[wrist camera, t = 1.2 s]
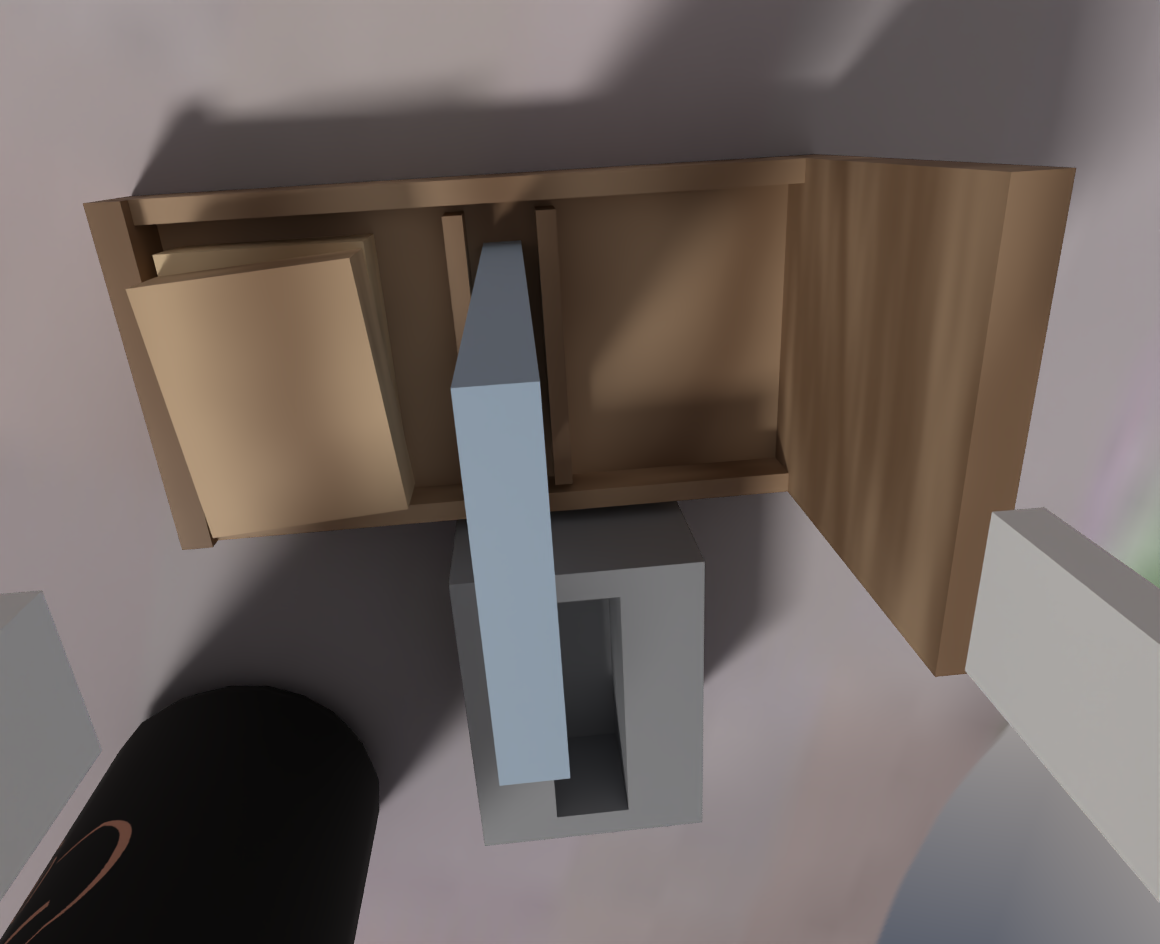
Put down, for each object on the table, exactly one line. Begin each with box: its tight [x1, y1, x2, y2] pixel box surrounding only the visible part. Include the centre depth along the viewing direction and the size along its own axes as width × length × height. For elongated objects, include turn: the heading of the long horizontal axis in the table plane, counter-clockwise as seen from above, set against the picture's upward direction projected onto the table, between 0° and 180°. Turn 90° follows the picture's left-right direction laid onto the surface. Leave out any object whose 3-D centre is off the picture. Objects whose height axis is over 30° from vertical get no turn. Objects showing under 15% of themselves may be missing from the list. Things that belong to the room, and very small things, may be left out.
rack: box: [83, 154, 1076, 677], centre depth 22 cm, size 22×11×13 cm, turn 93°
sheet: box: [451, 240, 570, 786], centre depth 19 cm, size 1×7×16 cm, turn 3°
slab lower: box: [152, 234, 404, 432], centre depth 25 cm, size 6×8×2 cm
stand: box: [449, 501, 705, 846], centre depth 29 cm, size 8×11×6 cm
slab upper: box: [126, 249, 415, 538], centre depth 24 cm, size 6×8×2 cm
